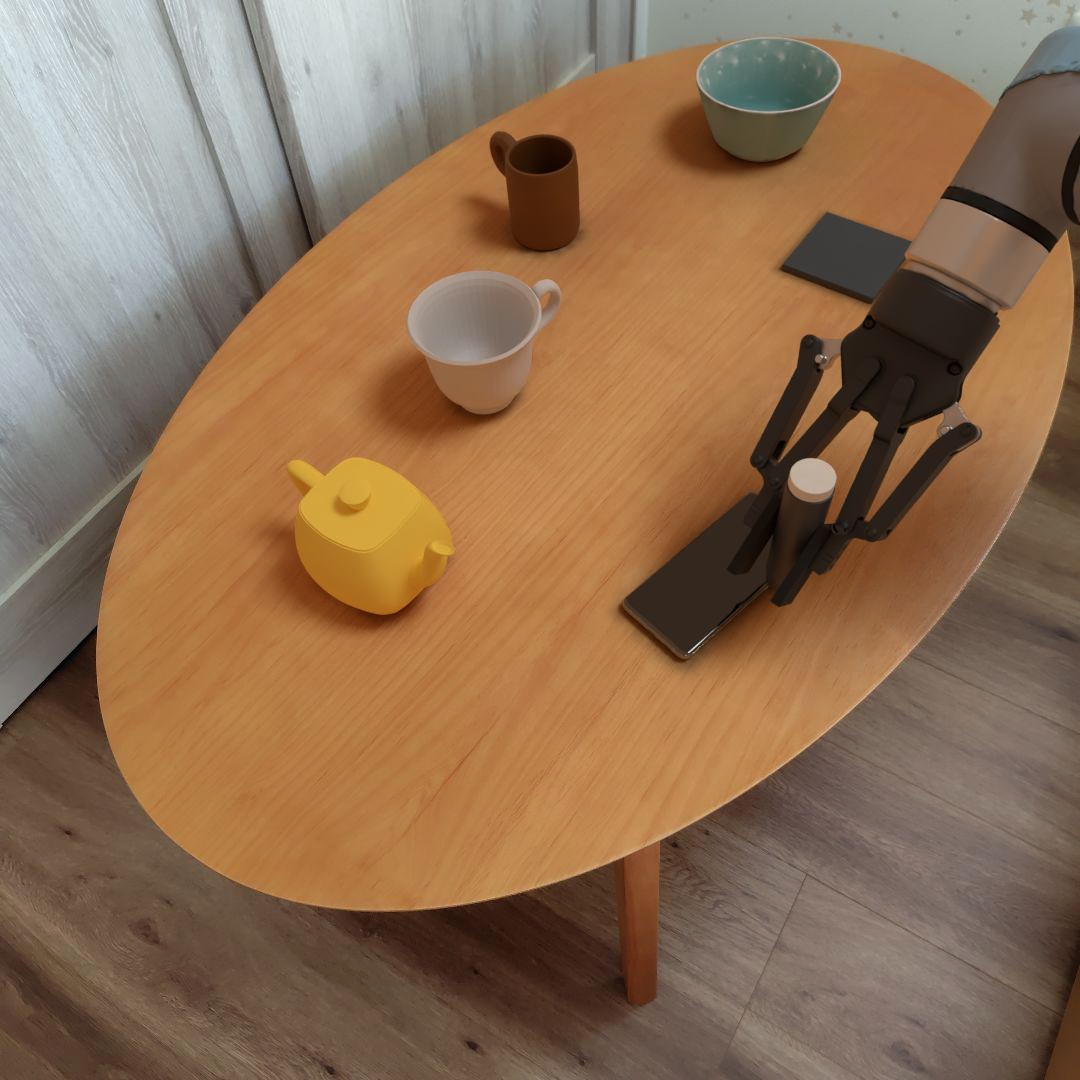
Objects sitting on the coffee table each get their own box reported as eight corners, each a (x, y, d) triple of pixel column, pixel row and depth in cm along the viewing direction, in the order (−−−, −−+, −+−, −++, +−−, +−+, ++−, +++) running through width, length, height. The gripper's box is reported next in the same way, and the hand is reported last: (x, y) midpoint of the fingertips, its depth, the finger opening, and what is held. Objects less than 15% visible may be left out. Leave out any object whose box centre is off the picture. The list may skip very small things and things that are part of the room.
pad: (913, 248, 98) (915, 242, 98) (871, 304, 94) (873, 298, 94) (825, 217, 102) (826, 211, 102) (781, 270, 98) (782, 263, 97)
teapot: (511, 575, 79) (498, 498, 70) (426, 672, 74) (400, 603, 66) (356, 480, 86) (326, 400, 77) (270, 564, 81) (227, 489, 73)
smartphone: (618, 601, 76) (751, 487, 81) (618, 608, 77) (750, 495, 82) (685, 660, 72) (820, 537, 77) (684, 666, 73) (818, 545, 78)
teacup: (597, 391, 90) (595, 311, 82) (462, 460, 86) (445, 384, 78) (532, 320, 96) (524, 239, 88) (403, 382, 93) (382, 303, 84)
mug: (473, 214, 107) (462, 138, 99) (524, 184, 109) (516, 108, 102) (543, 262, 101) (536, 186, 93) (594, 230, 104) (592, 153, 96)
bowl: (664, 135, 113) (667, 67, 106) (765, 87, 117) (774, 20, 110) (751, 198, 105) (760, 130, 98) (856, 145, 109) (872, 76, 102)
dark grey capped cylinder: (812, 574, 73) (846, 469, 62) (793, 604, 71) (824, 502, 61) (775, 555, 74) (802, 449, 63) (755, 584, 73) (779, 481, 62)
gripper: (1076, 357, 60) (868, 648, 68) (859, 249, 67) (693, 523, 75) (1067, 340, 54) (838, 663, 62) (828, 223, 61) (650, 525, 69)
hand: (759, 586), depth 68 cm, fingers closed on dark grey capped cylinder, 3 cm apart
